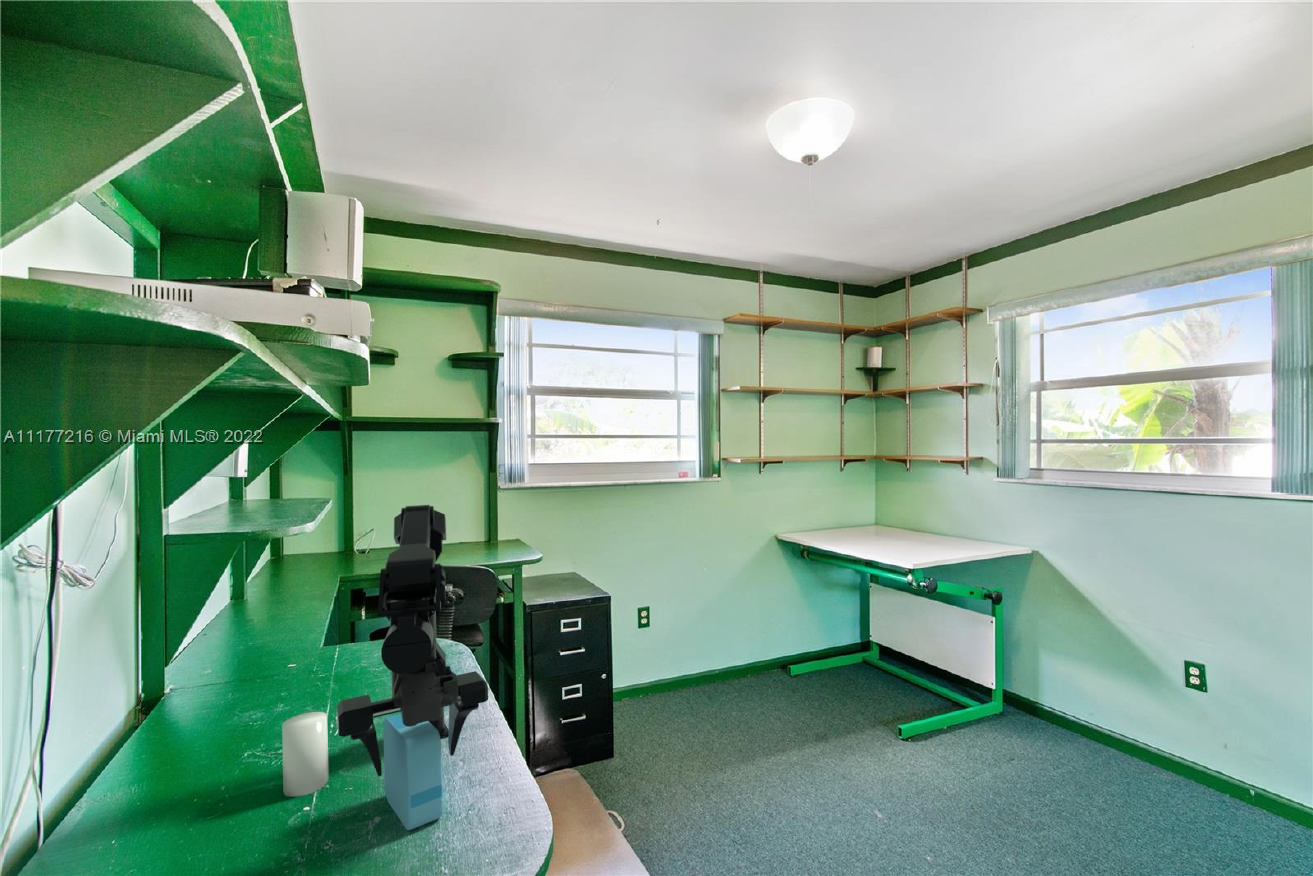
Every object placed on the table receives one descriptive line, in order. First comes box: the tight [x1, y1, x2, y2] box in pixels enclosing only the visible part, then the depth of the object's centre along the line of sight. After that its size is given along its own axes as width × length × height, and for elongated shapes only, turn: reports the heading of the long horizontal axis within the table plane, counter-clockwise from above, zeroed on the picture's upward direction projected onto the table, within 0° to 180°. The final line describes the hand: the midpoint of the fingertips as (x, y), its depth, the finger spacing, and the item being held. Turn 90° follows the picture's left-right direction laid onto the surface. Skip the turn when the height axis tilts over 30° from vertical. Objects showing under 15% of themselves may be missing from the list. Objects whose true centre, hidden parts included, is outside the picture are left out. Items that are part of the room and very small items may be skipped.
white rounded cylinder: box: [281, 711, 330, 798], centre depth 92 cm, size 6×6×10 cm
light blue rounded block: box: [382, 713, 444, 831], centre depth 84 cm, size 12×4×12 cm, turn 39°
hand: (416, 764), depth 81 cm, fingers open, 9 cm apart
